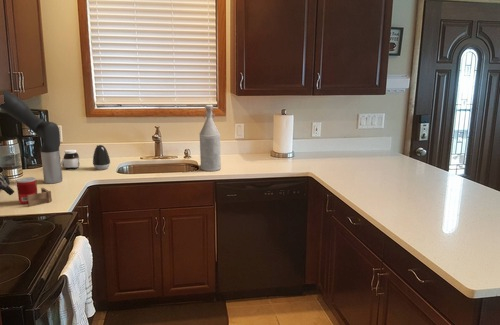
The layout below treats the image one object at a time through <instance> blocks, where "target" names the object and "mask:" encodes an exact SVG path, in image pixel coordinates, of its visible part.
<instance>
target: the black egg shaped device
mask: <svg viewBox="0 0 500 325" xmlns="http://www.w3.org/2000/svg"><path fill="white" fill-rule="evenodd" d="M107 150H108V149H106V147H105V146H104V145H102V144H99V145H98V144H97V145H96V147H95V149H94V151H93V156H92V165H93V167H94V168H95V169H96V170H98V171H103V170H104V169H105V170H107V169H109V167H110V166H111V158H110V156H109V153H108V151H107Z"/></svg>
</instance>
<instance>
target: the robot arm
mask: <svg viewBox="0 0 500 325" xmlns="http://www.w3.org/2000/svg"><path fill="white" fill-rule="evenodd" d="M3 95H4V102H5V103H4V104H1V105H0V109H1V110H2V111H3V112H5V113H7V114H8V115H9V116H11V117H12V118H13V119H15V120H17V121H18V122H19V123H21V124H23V125H24V126H25V127H28V128H29V129H30V130H31V131H32V133H34V134H36V135H37V136H38V137H39V138H41V139H43V144H42V145H41V146H40V147H39V148H40V156H41V157H40V158H41V164H42V165H41V166H42V174H43V183H45V184H57V183H60V182H62V181H63V172H62V171H63V169H62V165H61V161H62V160H61V152H60V146H61V134H60V127H59V126H58V124H57V123H55V122H52V121H45V120H43V119H41V118H40V117H38V116H37V115H36V114H34V113H33V112H32V110H31V109H30V107H29V106H28V105H27V104H26V103H25V102H24V101H23V100H22V99H21V98H19V97H18V96H16V95H15V94H14V93H11V92H9V91H8V90H6V89H4V91H3ZM10 185H11V183H10V179H9V176H8V175H6V174H5V175H2V174H1V173H0V191H4V192H5V193H6V194H8V195H9V196H11V195H13V194H14V193H15V190H14V189H13V188H11V186H10Z"/></svg>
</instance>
